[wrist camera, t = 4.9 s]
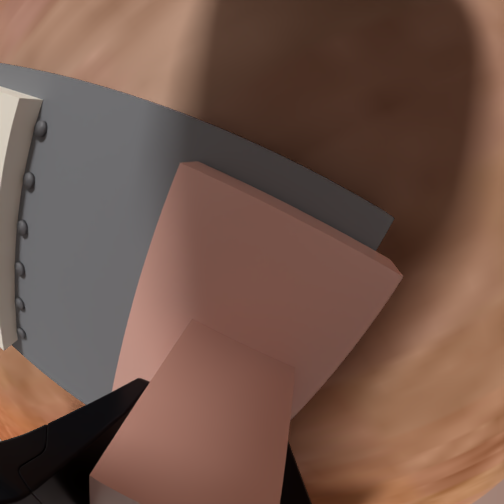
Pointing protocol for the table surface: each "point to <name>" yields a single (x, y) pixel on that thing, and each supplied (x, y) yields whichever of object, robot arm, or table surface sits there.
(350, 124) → the table surface
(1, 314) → the spiral notepad
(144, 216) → the mat
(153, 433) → the stub
